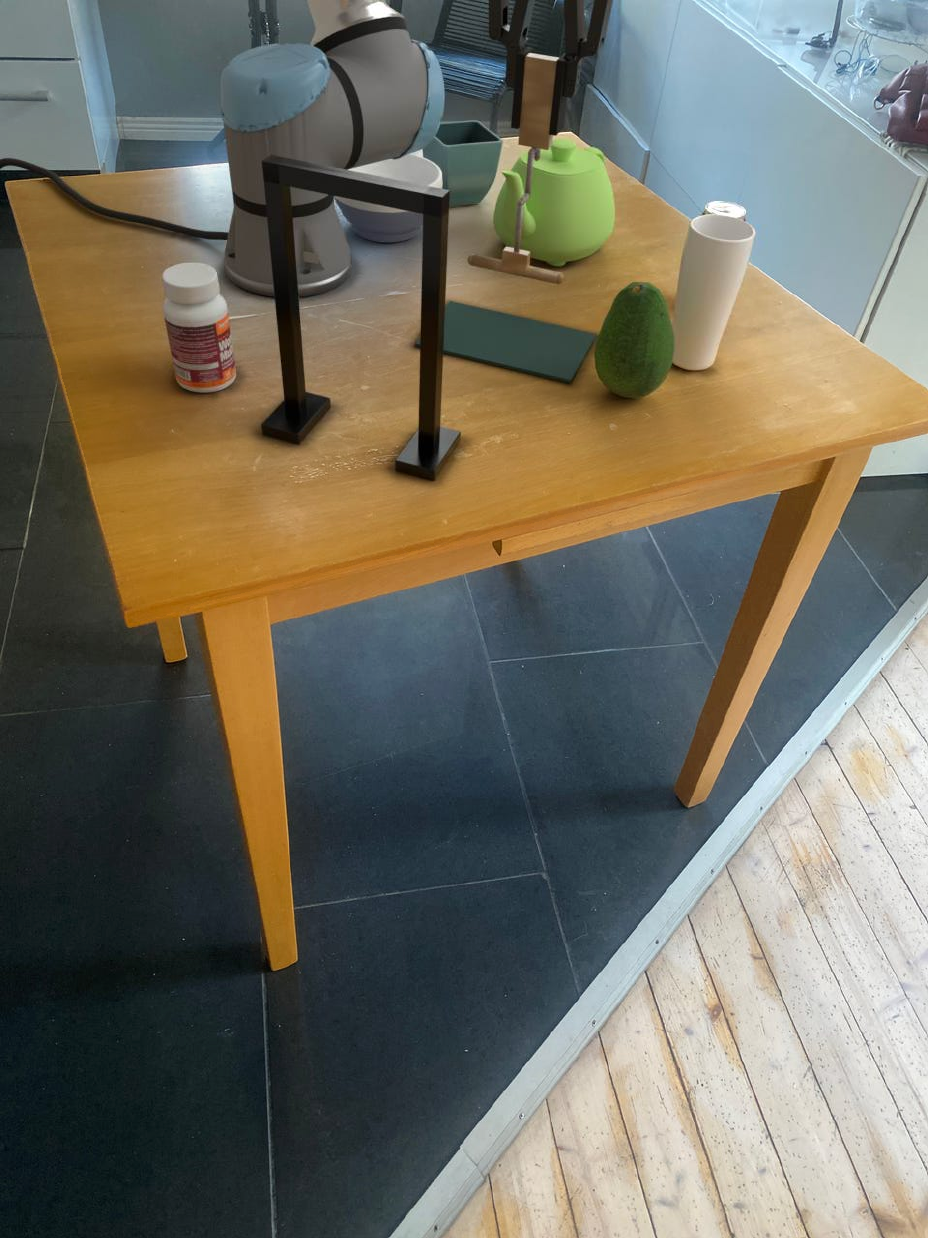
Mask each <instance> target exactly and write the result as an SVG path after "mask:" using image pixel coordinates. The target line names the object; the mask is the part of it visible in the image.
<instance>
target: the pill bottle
mask: <svg viewBox="0 0 928 1238" xmlns="http://www.w3.org/2000/svg"><path fill="white" fill-rule="evenodd" d="M161 276H162V285H163V292H164V295H165V297H166V299H165V300H164V302H163V305H162V312H163V318H164V323H165V327H166V328H165V329H166V334H167V338H168V344H169V349H170V353H171V354H170V355H171V359H172V365H173V371H174V376H175V380H176V382H177V384H178V385H179V386H180V387H182V388H183V389H184V390H187V391H189V392H194V393H204V394H205V393H207V394H208V393H214V392H215V393H216V392H219V391H222V390H224V389H226V388H227V387H230V385H232V384H233V383H234V381H235V380H236V377H237V369H236V361H235V354H234V353H235V352H234V345H233V340H232V339H233V338H232V332H231V324H230V323H231V322H230V315H229V308H228V304H227V301H226V299H225V298H224V296H222V295H221V294H220V291H221V289H220V283H219V278H218V273H217V270H216V269H215V268H214V267H213V266H211V265H209V264H205V263H201V262H183V263H177V264H174V265H172V266H170V267H168V268H166V269H165V270H164V271H163V273H162V275H161Z"/></svg>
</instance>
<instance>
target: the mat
mask: <svg viewBox="0 0 928 1238" xmlns="http://www.w3.org/2000/svg"><path fill="white" fill-rule="evenodd" d="M597 336H598V334H597V333H595V332H590V331H586V330H580V329H577V328H572V327H568V326H564V325H559V324H554V323H550V322H545V321H541V320H537V319H533V318H528V317H523V316H519V315H515V314H511V313H507V312H501V311H497V310H492V309H488V308H484V307H479V306H475V305H471V304H466V303H462V302H457V301H453V300H450V301H449V302H448V303H447V304H446V305H445V321H444V345H443V354H446V355H449V356H454V357H458V358H462V359H467V360H471V361H475V362H480V363H482V364H483V363H484V364H488V365H492V366H496V367H500V368H504V369H508V370H513V371H517V372H521V373H525V374H530V375H533V376H537V377H542V378H547V379H551V380H554V381H559V382H564V383H567V384H571V383H572V382H573V380H574V378H575V376H576V374H577V373H578V371H579V370H580V369H579V368H580V367H581V366H582V364H583V361H584V360H585V358H586V357H587V354H588V353H589V351H590V349H591V347H592V345H593V343H594V342H595V340H596V339H597ZM414 346H415V347H416V348H420V337H419V338H418V339H417V341H415V343H414Z"/></svg>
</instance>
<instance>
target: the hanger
mask: <svg viewBox="0 0 928 1238" xmlns="http://www.w3.org/2000/svg"><path fill="white" fill-rule="evenodd" d="M559 58H560V57H557V56H551V55H546V54H545V55H544V54H540V53H539V54H538V53H528V54H527V55H526V56H525V63H524V76H523V89H522V102H521V115H520V128H519V129H518V143H517V144H518V146H524V147H528V148H529V149H528V150H529V151H528V150H527V151H528V160H527V171H526V183H525V194H524V195H523V196H522V197H521V199H520V200H519V201H518V205H517V217H516V230H515V242H514V248H511V247H507V246H505V247H504V248H503V250H502V254H501V259H500V258H495V257H490V256H485V255H480V254H476V253H471V254H469V255H468V256H467V264H468V265H470V266H472V267H476V268H480V269H485V270H491V271H495V272H499V273H504V274H509V275H514V276H517V277H523V278H527V279H533V280H536V281H540V282H541V281H542V282H546V283H551V284H554V285H560V284H562V283H563V282H564V280H565V275H564V274H563V272H561V271H555V270H551V269H546V268H542V267H538V266H532V265H530V263H531V257H530V253H531V252H530V251H525V250H521V249H520V240H521V228H522V216H523V205H524V203H525V202H526V201H527V199H528V198H529V197H530V193H531V182H532V171H533V160H535V161H539V159H540V152H541V149H544V150H549V149H550V148H551V146H552V140H553V136H554V135H549V128H550V118H551V109H552V100H553V90H554V81H555V72H556V62H557V59H559Z"/></svg>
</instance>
